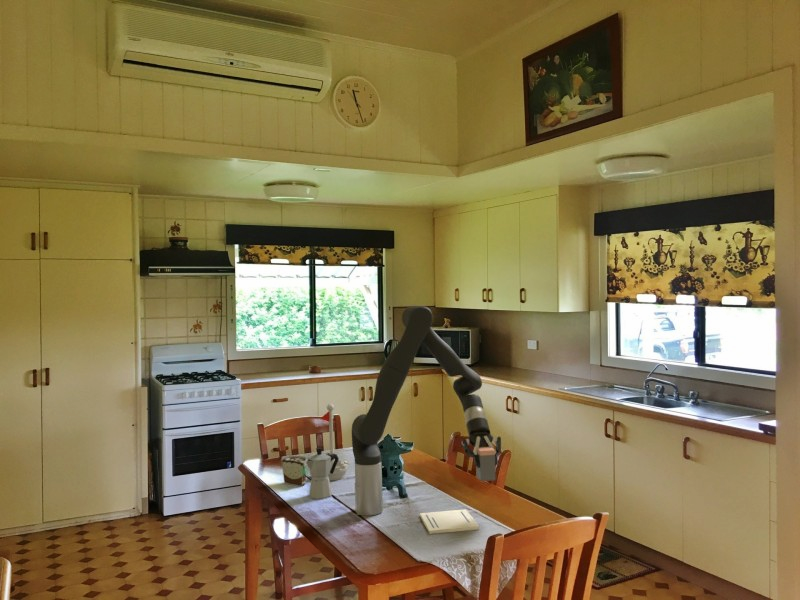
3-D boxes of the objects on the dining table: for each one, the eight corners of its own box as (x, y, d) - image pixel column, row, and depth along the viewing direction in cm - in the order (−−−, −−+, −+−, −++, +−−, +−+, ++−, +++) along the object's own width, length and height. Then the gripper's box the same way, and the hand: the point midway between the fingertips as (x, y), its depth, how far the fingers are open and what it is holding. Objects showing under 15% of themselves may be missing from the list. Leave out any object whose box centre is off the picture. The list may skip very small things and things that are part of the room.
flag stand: (334, 470, 283) (332, 399, 282) (355, 475, 274) (352, 403, 273) (310, 477, 274) (307, 404, 273) (330, 483, 265) (327, 408, 264)
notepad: (429, 533, 209) (429, 530, 209) (419, 516, 225) (419, 513, 225) (479, 529, 212) (478, 526, 212) (465, 512, 228) (465, 509, 228)
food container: (315, 482, 266) (314, 457, 266) (305, 487, 261) (304, 461, 261) (291, 478, 273) (290, 454, 273) (281, 482, 268) (280, 457, 267)
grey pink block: (480, 481, 220) (480, 451, 220) (476, 476, 225) (476, 447, 225) (495, 480, 221) (494, 450, 221) (490, 475, 226) (490, 446, 226)
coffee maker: (313, 502, 242) (311, 453, 242) (299, 497, 249) (298, 449, 248) (346, 492, 252) (344, 445, 252) (332, 487, 259) (330, 441, 258)
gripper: (458, 417, 229) (468, 461, 217) (498, 415, 231) (510, 459, 220) (454, 429, 234) (464, 473, 223) (494, 427, 237) (505, 470, 225)
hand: (487, 466), depth 221 cm, fingers closed on grey pink block, 5 cm apart
